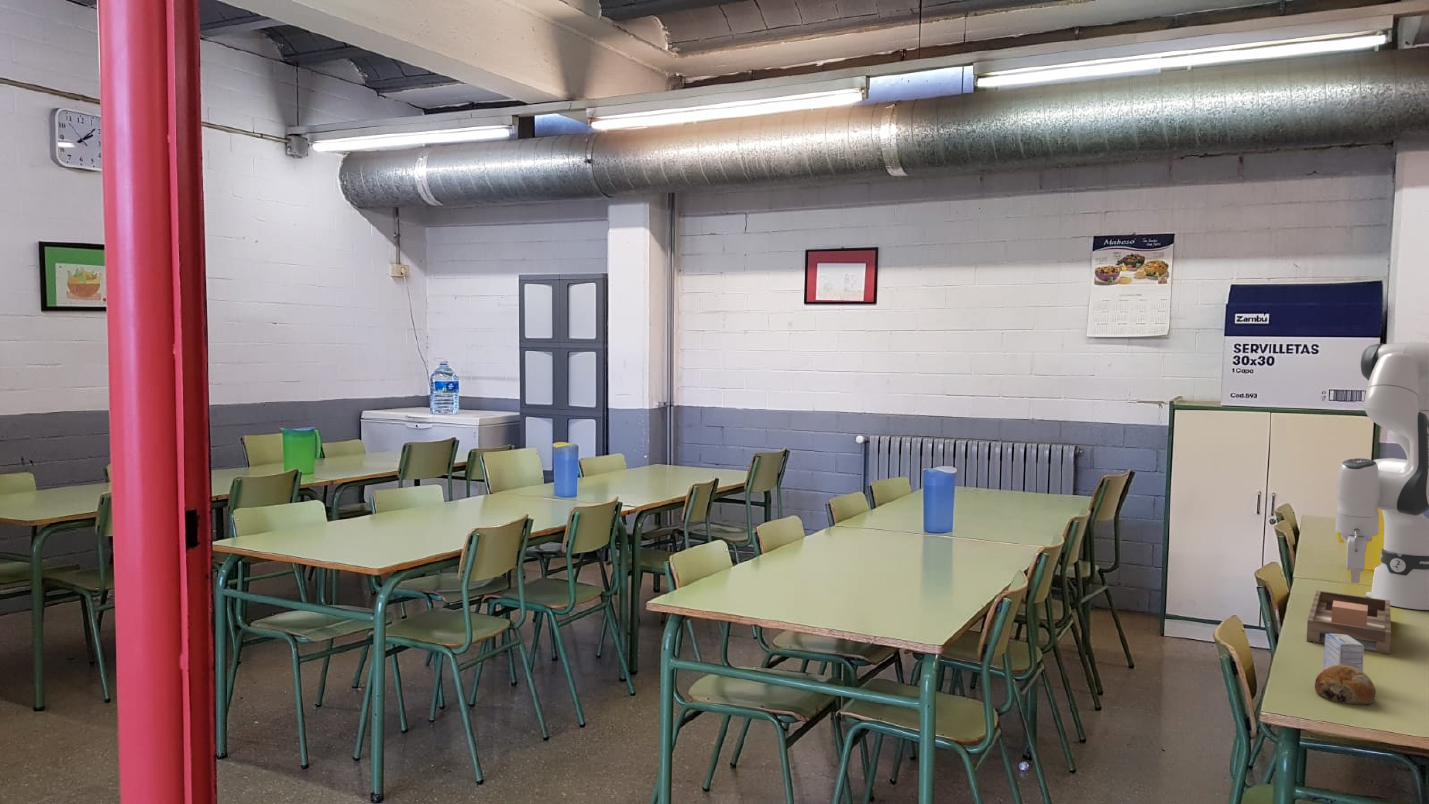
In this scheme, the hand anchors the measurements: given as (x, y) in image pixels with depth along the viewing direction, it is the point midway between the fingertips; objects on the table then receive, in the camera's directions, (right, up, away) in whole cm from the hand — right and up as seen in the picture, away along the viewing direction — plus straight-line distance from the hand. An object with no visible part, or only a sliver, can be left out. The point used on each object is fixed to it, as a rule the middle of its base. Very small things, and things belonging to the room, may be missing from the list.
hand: (1355, 581), depth 243 cm
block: (-5, -9, -6) cm, 12 cm away
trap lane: (-3, -11, -2) cm, 12 cm away
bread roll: (-35, -14, -50) cm, 62 cm away
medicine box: (-29, -13, -40) cm, 51 cm away
